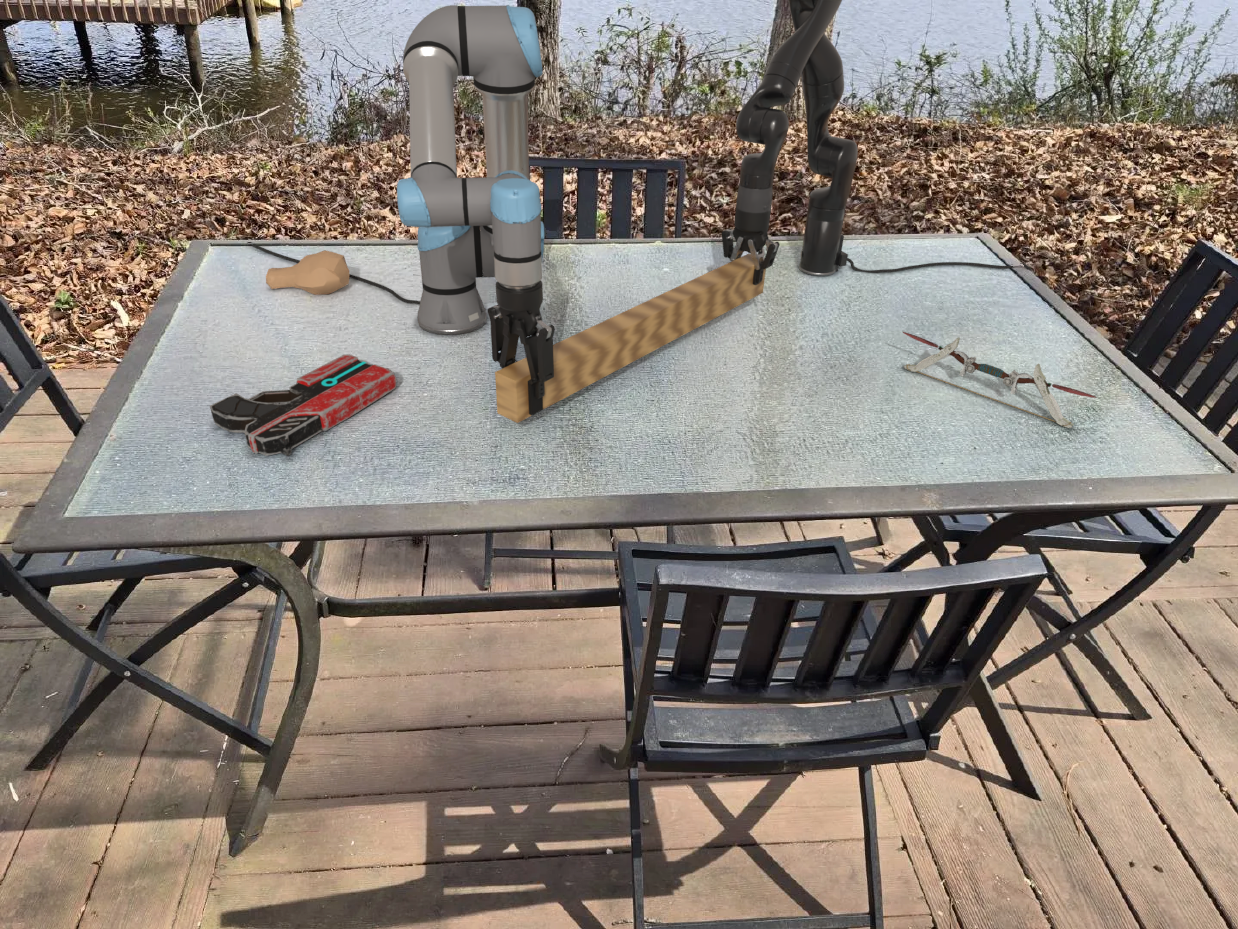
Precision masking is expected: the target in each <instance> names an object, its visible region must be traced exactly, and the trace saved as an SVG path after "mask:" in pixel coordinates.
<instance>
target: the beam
mask: <svg viewBox="0 0 1238 929" xmlns="http://www.w3.org/2000/svg"><path fill="white" fill-rule="evenodd" d="M764 259H765V257H764ZM754 269H755V265H754V261H753V260H752V257H751V254H750V253H747V254H744V255H742V256H741V257H740V258H738V259H736V260H734V261H732V262H731V261H730V262H727V263H725V264H723V265H721V266H719V267H716V268H714V269H713V270H710V271H708V272H706V273H704V274H702V275H699V276H697V277H695V278H693V279H691V280H689V281H687V282H684V283H682V284H681V285H679V286H676V287H674V288H672V289H670V290H667V291H665V292H663V293H661V294H659V295H656V296H655V297H653V298H650V299H647V300H646V301H644V302H642V303H640V304H638V305H635V306H633V307H631V308H629V309H627V310H625V311H623V312H621V313H618V314H616V315H614V316H612V317H609V318H608V319H606V320H604V321H601V322H599V323H597V324H594V325H592V326H590V327H589V328H586V329H584V330H582V331H580V332H578V333H576V334H573V335H571V336H569V337H567V338H565V339H563V340H561V341H558V342H556V343H553V360H554V377H553V378H552V379H550V380H548V381H546V382H544V383H545V395H544V396H543V410H545V409H547V408H549V407H551V406H553V405H554V404H556V403H559V402H560V401H562V400H564V399H566V398H568V397H570V396H572V395H573V394H575V393H577V392H579V391H581V390H583V389H585V388H587V387H588V386H591V385H592V384H594V383H596V382H598V381H600V380H602V379H604V378H605V377H607V376H610V375H611V374H613V373H615V372H617V371H618V370H620V369H622V368H624V367H627V366H628V365H630V364H632V363H633V362H636V361H638V360H640V359H641V358H643V357H645V356H647V355H649V354H651V353H653V352H654V351H656V350H658V349H660V348H662V347H664V346H666V345H667V344H670V343H671V342H673V341H675V340H677V339H679V338H681V337H682V336H684V335H687V334H688V333H690V332H692V331H693V330H696V329H698V328H699V327H701V326H703V325H705V324H707V323H709V322H711V321H713V320H715V319H717V318H718V317H720V316H723V315H724V314H726V313H728V312H730V311H732V310H734V309H735V308H737V307H740V306H741V305H743V304H744V303H747V302H749V301H751V300H753V299H754V298H756V297H758V296H760V295H762V294H763V293H764V287H765V279H766V272H767V269H764V271H763V280H762V282H760V283H759V284H757V285H753V275H754ZM517 361H518V362H516V361H515V363H513V364H511V365H509V366H507V367H505V368H503V369H502V368H501V369H498V370H496V371H494V376H495V377H494V379H495V380H494V381H495V397H496V410H497V412H496V414H498V415H499V416H502V417H504V418H506V419H508V420H510V421H512V422H513V423H516V424H519V423H521V422H522V421H524V420H526V419H528V418H530V417H533V415H530V414H529V401H528V381H529V380H531V376H530V371H529V367H528V362H527V358H526V357H524V358H522V359H519V360H517Z"/></svg>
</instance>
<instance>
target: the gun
mask: <svg viewBox="0 0 1238 929" xmlns="http://www.w3.org/2000/svg"><path fill="white" fill-rule="evenodd" d="M397 381H398V380H397V377H396V374H395V372H394V371H393V370H392V369H390V368H388V367H383V366H381V365H378V364H372V363H369V362H367V361H364V360H360V359H359V357H358V356H355V355H352V354H349V353H348V354H341V355H340V356H338V357H337V358H335V359H333V360H331V361H329V362H327V363H325V364H322V365H321V366H319V367H317V368H315V369H313V370H311V371H309V372H307V373H305V374H303V375H302V376H300V377H299V376H298V377H297V378H296V383H295V384H293V385H291V386H289V387H288V389H282V390H281V389H280V390H279V389H277V390H262V391H260V392H259V393H257V394H255V395H253V396H252V397H250V398H246V397H244V396H242V395H240V394H239V393H237V392H236V393H233V394H231V395H230V396H227V397H225V398H223V399H221V400H219V401H217V402H215V403H212V404H210V405H209V409H210V412H211V417H212V420H213V422H214V424H215V425H216V426H217V427H218V428H220V429H223V430H224V431H227V432H229V433H237V434H239V433H240V434H244V435H245V436H244V437H245V440H246V445H247V448H248V449H250V450H251V452H252V453H253V454H256V455H257V454H261V455H263V456H265V457H267V456H272V455H277V454H282V455H284V456H286V457H289V456H291V455H292V450H293V449H294V448H296V447H298V446H300V445H301V444H303V443H304V442H307V440H309V439H311V438H313V437H314V436H316V435H317V434H319V433H321V432H325V431H326V432H327V431H329V430H330V429H332V428H333V427H335V426H337V425H339V424H340V423H342V422H344V421H346V420H347V419H349V418H351V417H352V416H353V415H356V414H357V413H359V412H360V411H362V410H363V409H365V408H367V407H368V406H370V405H371V404H373V403H376V401H377V400H380V399H381V398H383V397H385V395H387V394H389V393H391V392H392V391H393V390H395V389H396V387H397Z"/></svg>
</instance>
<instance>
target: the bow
mask: <svg viewBox="0 0 1238 929" xmlns="http://www.w3.org/2000/svg"><path fill="white" fill-rule="evenodd" d="M901 333H903V334H904V335H906V336H908V337H910V338H911V339H913V340H915V341H918V342H920V343H922V344H925V345H927V346H930V347H933V348H936V349H938V350H939V351H938V353H934V354H931V355H929V356H927V357H925V358H924V359H922V360H921V361H919V362H918V363H917V364H910V363H907V364H905V365H903V368H904V370H907V371H909V372H913V373H918V374H920V375H924V376H926V377H930V378H931V379H935V380H937V381H940V382H943V383H946V384H948V385H951V386H954V387H957V388H960V389H963V390H965V391H968V392H971V393H973V394H976V395H980V396H982V397H985V398H986V399H987V398H988V399H990V400H993V401H996V402H999V403H1002V404H1004V405H1007V406H1009V407H1012V408H1015V409H1018V410H1020V411H1023V412H1026V413H1029V414H1032V415H1034V416H1037V417H1040V418H1043V419H1046V420H1049V421H1051V422H1054V423H1056V424H1058V425H1060V426H1061V427H1063V428H1067V429H1071V428H1073V427H1074V425H1075V424H1074V423H1072V421H1070V420H1068V419H1067V418H1065V417H1064V416H1063V413H1062V410H1061V407H1060V406H1059V404H1058V401H1057V399H1056V398H1055V397H1054V395H1053V394H1052V393H1051V391H1050V389H1049V388H1050V387H1051V386H1052V388H1054V389H1057V390H1059V391H1063V392H1066V393H1068V394H1073V395H1077V396H1081V397H1087V398H1094V399H1096V398H1097V396H1096V395H1092V394H1090V393H1087V392H1084V391H1082V390H1079V389H1075V388H1073V387H1072V388H1071V387H1068V386H1065V385H1060V384H1055V383H1050V382H1048V381H1047V378H1046V376H1045V374H1044V373H1043V371H1042V368H1041V364H1040V363H1037V364H1036V365H1035V366H1034V369H1033V373H1032V375H1031V374H1029V373H1026V372H1022V373H1019V372H1017V370H1015V369H1014V370H1012V371H1011V372H1010V373H1007V372H1006V371H1005V370H1003V369H1002V368H999V367H996V366H994V365H991V364H988V363H977V362H976V361H977V357H976V356H974V357H973V356H970V357H969V356H968V354H967V353H965V352H964V351H961V350H956V349H957V348H958V347H959V344H960V340H961V337H957V338H956V339H954V340H953V341H952V342H951V343H947V344H946V345H945V346H944V347H943V346H941V345H938V344H937V343H935V342H932V341H930V340H928V339H925V338H923V337H921V336H917V335H914V334H912V333H909V332H905V331H903V330H902V332H901ZM951 356H952V357H953V358H954V359H955V360H956V361H957V362H959V363H960V364H962V365H963V366H962V369H961V370H960V373H959V374H958V376H960V377H964V376H966V373H968V374H973V373H975V371H979V372H981V373H984V374H987V375H990V376H993V377H995V378H998V379H1002V383H1003V385H1004V386H1006V387H1011V388H1010V394H1011V395H1015V394H1017V393H1018V384H1033V385H1034V386H1035V388H1036V389H1037V391H1038V392H1039V394H1040V396H1041V397H1042V399H1043V402H1044V404H1045V406H1046V408H1047V409H1048V412H1049V414H1050V415H1051V417H1052V418H1053V419H1051V418H1048V417H1046V416H1043V415H1040V414H1038V413H1034V412H1032V411H1029V410H1026V409H1023V408H1021V407H1018V406H1015V405H1012V404H1009V403H1007V402H1004V401H1001V400H998V399H995V398H993V397H991V396H988V395H984V394H982V393H979V392H976V391H973V390H971V389H968V388H965V387H963V386H960V385H956V384H954V383H951V382H949V381H946V380H943V379H941V378H938V377H935V376H932V375H929V374H927V373H924V372H921V371H922V370H924V369H925V370H926V369H928V368H929V367H931V366H933V365H934V364H936V363H938V362H940V361H942V360H944V359H947V358H949V357H951Z"/></svg>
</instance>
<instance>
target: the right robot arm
mask: <svg viewBox="0 0 1238 929" xmlns="http://www.w3.org/2000/svg"><path fill="white" fill-rule="evenodd" d="M787 1H788V6H789V12H790V16H791V21H792V24H793V29H794V33H792V34H791V35H790V36H789V37H788V38H787V39H786V40H785V41H784V42H783V43H782V44H780V46H779V47H778V48H777V49H776V51H775V52H774V53H773V55H772V57H771V58H770V60H769V63H768V65H767V67H766V70H765V72H764V75H763V77H762V80H761V82H760V84H759V86H758V87H757V88H756V90H754V92H753V94H752V95H751V96H750V98H749V99H748V100H747V101H746V103H745V104H744V105H743V107H742V108H741V109H740V112H739V113H738V115H737V118H736V123H735V132H736V135H737V137H738V138H739V139H740V140H741V141H743V142H747V143H751V144H756V145H757V144H758V145H764V149H763V150H762V152H759V153H750V154H747V155H745V156H743V157H742V160H741V164H740V173H739V174H740V176H739V184H738V189H737V194H736V202H735V214H734V223H733V224H734V228H733V229H732V228H726V229H725V230H722V231H721V240H722V251H723V257H724V258H726V259H729V261H730V262H732V261H734V260H736V259H738V258H740V257H742V256H743V254H744V252H747V254H751V257H752V260H753V261H754V265H755V269H754V275H753V285H757V284H759V283H760V282H762V280H763V271H764V269H766V270H768V269H769V268H771V267H772V266H773V265H774V262H775V259H776V256H777V253H778V251H779V248H780V242H779V241H773V240H771V239H770V237H769V234H768V231H769V228H770V223H771V222H770V220H771V213H772V204H773V194H774V193H773V185H774V180H775V179H774V178H775V176H774V175H775V169H776V165H777V162H778V158H779V155H780V152H781V150H782V147H783V145H784V142H785V141H786V138H787V136H788V132H789V127H790V122H789V118H788V115H787V113H786V112H785V111H784V110H782V109H778V108H774V107H779V106H785V105H788V104H789V103H790V102H791V101H792V99H793V96H794V94H795V92H796V89H797V87H798V85H799V82H800V80H801V86H802V87H801V88H802V95H803V99H804V100H803V101H804V109H805V117H806V118H805V120H806V149H807V163H808V167H809V169H810V171H811V172H812V173H814V174H816V175H819V176H822V177H828V178H832V179H831V183H830V185H829V186H825V187H819V188H815V189H813V190H812V191H811V192H810V194H809V198H808V205H807V212H806V219H805V227H804V234H803V240H802V241H803V242H802V245H801V246H802V247H801V250H800V260H799V264H798V269H799V271H801V273H804V274H806V275H810V276H816V277H827V276H831V275H834V274H836V272H838V271H839V270H840V267H846V266H847V263H849V265H850V268H851V269H852V270H854V271H855V272H859V273H860V272H861V273H867V274H868V273H869V274H881V273H897V272H902V271H906V270H913V269H920V268H926V267H937V266H972V267H981V268H990V269H999V270H1001V269H1002V270H1003V269H1005V270H1006V269H1012V268H1014V267H1013V266H1007V265H999V264H988V263H980V262H966V261H964V262H963V261H945V262H944V261H943V262H941V261H940V262H930V263H923V264H915V265H909V266H902V267H898V268H887V269H886V268H885V269H884V268H883V269H872V270H868V269H867V270H866V269H861V268H858V267H856V266H855V264H854V261H853V260H852V259H851V258H850V257H849V254H848V253H846V252H845V251H843V245H844V238H845V236H844V234H842V232H843V227H844V221H845V215H846V210H847V203H848V199H849V196H850V194H851V188H852V184H853V181H854V174H855V171H856V166H857V161H858V155H859V149H858V144H857V143H856V141H855V140H851V139H847V138H842V137H836V136H833V135H831V134H830V131H829V119H830V117H831V115H832V113H833V112H834V111H835V109H836V107H837V106H838V104H839V103H840V101H841V99H842V97H843V95H844V91H845V76H844V75H845V74H844V64H843V60H842V58H841V54H839V51H838V50H837V49H836V47H835V45H834V43H832V41H831V40H830V38H829V36H827V34H826V33H825V32H826V31H827V30H828V27H829V26H830V24H831V22H832V20H833V19H834V17H835V15H836V14H837V12H838V10H839V8H840V6H841V4H842V2H843V0H787ZM734 241H735V245H734ZM765 246H766V247H765ZM764 247H765V248H764ZM765 251H766V252H765ZM764 258H765V259H764ZM1020 264H1023V265H1024V267H1023V268H1025V269H1026V270H1028V271H1031V267H1029V265H1028V264H1026V263H1022V262H1021V263H1020Z"/></svg>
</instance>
